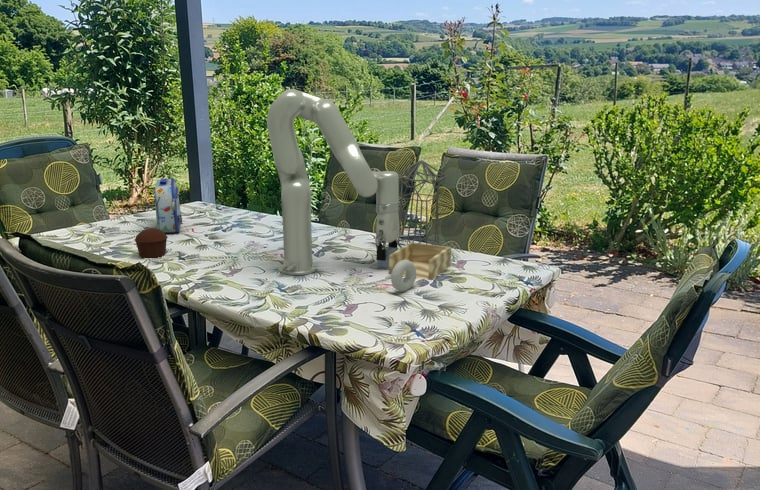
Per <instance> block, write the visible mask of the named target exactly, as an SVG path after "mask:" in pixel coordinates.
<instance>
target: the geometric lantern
mask: <svg viewBox="0 0 760 490" xmlns="http://www.w3.org/2000/svg"><path fill="white" fill-rule="evenodd" d="M420 166H422V170H423V172H419V169H420ZM432 169H433V170H435V171H436V172H437V173H439V174H436V173H435V172H434V171H433V170H432ZM396 173H397V174H398V176H399V182H401V183H400V184H401V185H400V205H399V209H398V215H399V231H400V232H401V227H402V214H403V213H402V210H403V203H404V202H403V200H410V201H411V204H410V212H409V220H408V221H409V223H408V229H407V236H406V237H404V238H400V236H401V235H400V236H399V238H398V242H396V243H397V247H399V249H400V248H402V247H403V246H405V245H407V244H405V243H400V242H403V241H404V240H407V239H408V243H410V242H411V241H410V239H412V243H415V239H418V243H421V242H422V240H424V241H425V244H428V241H431V242H432V243H431V244H430V245H439V244H440V231H439V230H440V229H439V225H440V224H439V188H440V186H441V184H442V183H443V182H445V180H446V179H447V178H448V175H447V174H445V173H444V172H442V171H440V170H439V169H437V168H436V167H433V166H432V165H431V164H430V163H428V162H426V161H424V160H418V161H417V162H415V163H413V164H411V165H409V166H407V167H406V168H404V169H402V170H400V171H398V172H396ZM412 173H414V175H413V178H411V176H412ZM422 175H423V176H425V178H424V177H423V176H422ZM417 176H418V177H420V178H421V179H416V177H417ZM439 177H440V178H439ZM428 178H429V179H430V180H429V179H428ZM435 178H436V179H435ZM403 179H405V180H403ZM409 181H411V184H412V185H410V183H409ZM414 182H420V183H418V184H416V185H414ZM437 182H438V183H437ZM426 183H427V184H431V185H432V189H431V191H430V192H429V194H425V193H420V192H421V190H422V189H423V187H424V186H425V184H426ZM436 183H437V185H436ZM403 184H404V186H405V189H404V192H403ZM419 186H420V188H419V189H418V190H417V189H416V187H419ZM409 188H410V190H411V191H412V192H411V193H407V194H406V192H407V189H409ZM413 189H414V190H413ZM436 189H437V190H436ZM433 190H434V193H435V195H433V194H431V193H432V192H433ZM409 195H411V198H408V197H406V196H409ZM414 195H416V199H415V198H414ZM420 195H421V196H426V199H422V198H421V196H420ZM430 197H434V198H431V199H428V198H430ZM434 200H435V201H436V202H435V221H434V222H435V227H434V239H431V238H428V202H429V201H434ZM414 201H416V202H415V203H416V205H415V206H416V208H415V220H414V235H413V236H410V232H411V231H410V230H411V223H412V222H411V221H412V215H413V214H412V213H413V204H414ZM419 202H420V217H419V219H420V220H419V235H418V236H417V224H418V223H417V221H418V208H419V206H418V205H419ZM423 202H425V237H422V223H423V222H422V219H423ZM421 244H422V243H421Z"/></svg>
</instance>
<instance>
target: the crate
mask: <svg viewBox="0 0 760 490" xmlns="http://www.w3.org/2000/svg"><path fill="white" fill-rule="evenodd" d="M451 259H452V246H445V245H439V244H437V245H431V244H430V243H429V244H428V243H427V244H426V243H419V242H414V243H413V241H410V243H409V242H408V243H407V244H406V245H405V246H404V245H402V248H400V247H399V249H397V251H395V252H394V253H392V254H390V255H389V270H388V274H389V275H391V273H392V270H393V268H394V266H395V265H396V264H397V263H398V262H399V261H401V260H409V261H411V262H412V263H413V264H414V265H415V268H416V279H423V280H428V281H432V280H434V279H435V278H436V277H438V276H439V275H440V274H441V273H443V272H444V271H445V270H447V268H449V267H450V266H451V265H452V264H451V263H452V260H451ZM405 276H406V272H405V271H404V272H403V275H402V277H405Z"/></svg>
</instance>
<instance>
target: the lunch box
mask: <svg viewBox="0 0 760 490" xmlns="http://www.w3.org/2000/svg"><path fill="white" fill-rule="evenodd" d="M154 208H155V219H156V228H157V229H160V230H161V231H163V232H164V233H165V234H174V233H179V232H180V229H181V226H182V225H183V217H182V214H181V213H182V212H181V205H180V198H179V188H178V186H177V183H176V179H175V178H160V179H157V180H156V183H155V187H154Z"/></svg>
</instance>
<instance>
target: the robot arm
mask: <svg viewBox="0 0 760 490" xmlns="http://www.w3.org/2000/svg"><path fill="white" fill-rule="evenodd" d="M295 118H300V119H303V120H305V121H308V122H313V123H314V124H316V125H317V127H318V129H319V131H320V132H321V134H322V136H323V137H324V139H325V141H326V144H327V145H328V146H329V148H330V150H331V152H332V153H333V155H334V157H335V158H336V160H337V161H338V163H339V164H340V166H341V167H342V168H343V170H344V173H346V175H347V176H348V179H349V180H350V182H351V184H352V186H353V187H354V189H355V191H356V192H357V194H358V195H359V196H362V197H364V198H369V197H372V196H374V195H375V194H376V196H375V197H376V200H375V201H376V203H375V204H376V205H375V207H376V208H375V210H376V211H375V212H376V213H377V215H376V227H375V235H376V236H375V238H374V242H375V246H376V247H375V249H376V260H381V261H385V260H386V249H385V247H393V248H397V249H398V245H397V243H396V242H398V238H399V236H401V230H400V231H399V194H400V193H399V192H400V191H399V189H400V187H399V185H400V180H399V178H400V177H399V176H398V174H397V173H398V172H396V171H393V170H384V171H383V170H382V171H374V170H371V168H370V166H369V164H368V162H367V160H366V159H365V157H364V155H363V152H362V151H361V149H360V145H359V144H358V142H357V140H356V138H355V136H354V135H353V133H352V131H351V129H350V128H349V125H348V124H347V122H346V120H345V119H344V117H343V115H342V113H341V111H340V110H339V108H338V106H337V105H336V104H335V103H334V102H333V101H331V100H328V99H327V98H323V97H318V96H315V95H313V94H309V93H306V92H304V91H301V90H298V89H295V88H289V89H286V90H284V91H283V92H281V94H279V96H277V97H276V98H275V99H274V101H272V103H271V104H270V107H269V108H268V112H267V116H266V128H267V133H268V137H269V142H270V147H271V150H272V155H273V163H274V165H275V168H276V170H277V174H278V178H279V181H280V185H281V190H280V191H281V194H280V195H281V197H280V198H281V199H280V200H281V209H282V210H281V215H282V220H281V221H282V239H283V240H282V242H283V261H282V262H283V263H282V264H281V265H278V267H277V271H279V272H280V273H282V274H285V275H289V276H302V275H303V276H305V275H309V274H312V273H313V274H314V273H315V272H316V271H317V270H318V265H317V264H316V263H313V241H312V240H313V239H312V238H313V237H312V191H311V184H310V180H309V177H308V173H307V169H306V168H307V167H306V165H305V159H304V156H303V153H302V150H301V149H300V146H299V143H298V139H297V134H296V130H295V124H294V123H295V122H294V121H295ZM387 244H388V246H386V245H387Z"/></svg>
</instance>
